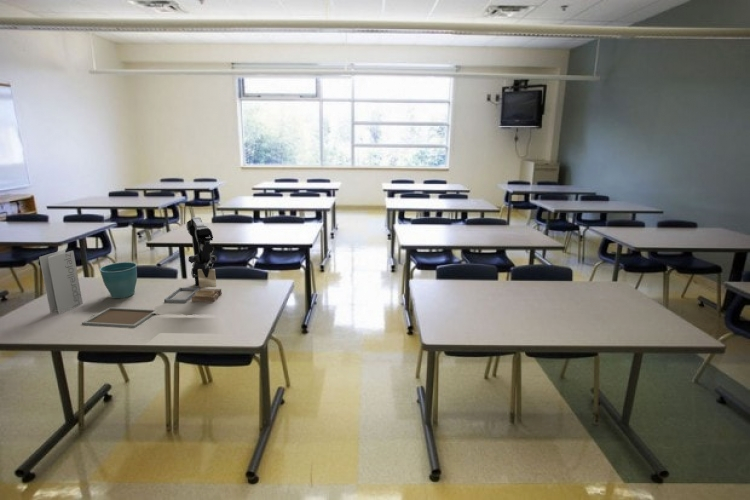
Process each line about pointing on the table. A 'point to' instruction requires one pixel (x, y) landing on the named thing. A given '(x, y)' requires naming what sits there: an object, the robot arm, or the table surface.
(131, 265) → the flower pot
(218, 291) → the walnut rack
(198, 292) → the upper oak offcut
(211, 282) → the birch sheet
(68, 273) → the brochure
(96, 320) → the picture frame
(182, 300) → the gray tray
